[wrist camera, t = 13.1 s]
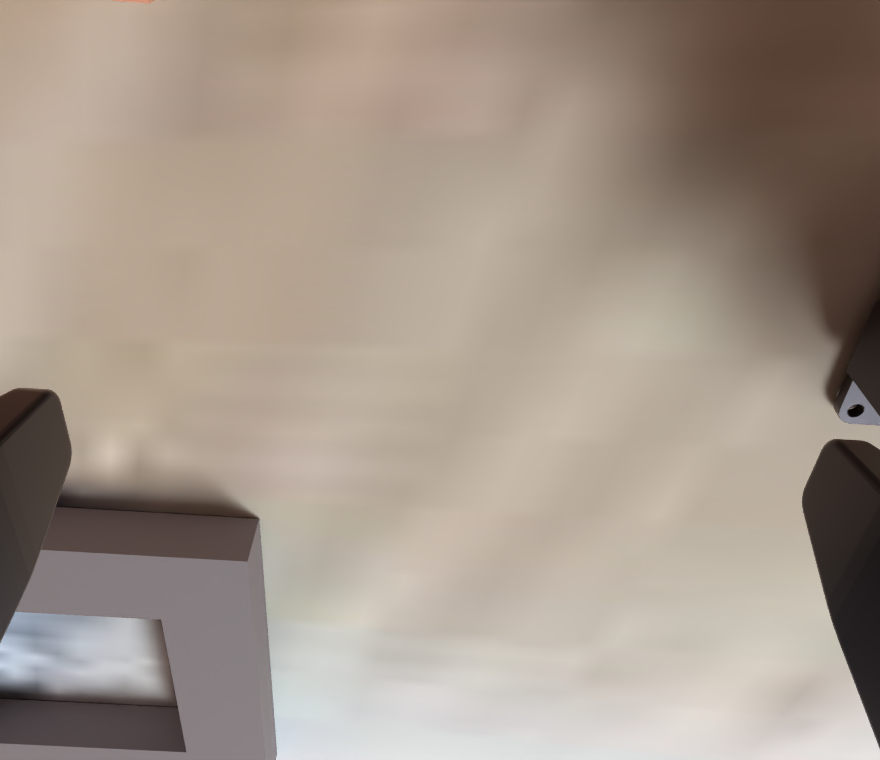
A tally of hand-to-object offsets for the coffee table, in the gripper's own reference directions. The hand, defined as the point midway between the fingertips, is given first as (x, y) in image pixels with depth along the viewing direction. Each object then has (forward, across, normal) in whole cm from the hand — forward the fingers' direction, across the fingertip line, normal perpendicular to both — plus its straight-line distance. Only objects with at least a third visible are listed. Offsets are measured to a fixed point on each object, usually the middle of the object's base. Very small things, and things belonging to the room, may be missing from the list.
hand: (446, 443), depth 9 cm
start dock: (+13, +13, +22) cm, 29 cm away
